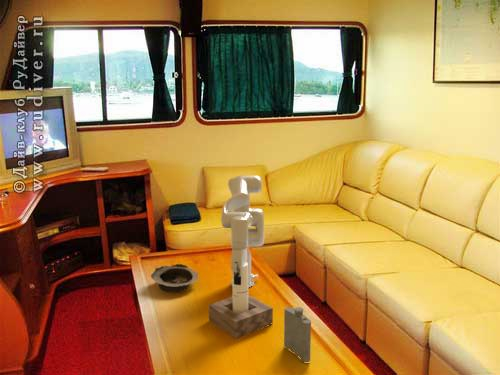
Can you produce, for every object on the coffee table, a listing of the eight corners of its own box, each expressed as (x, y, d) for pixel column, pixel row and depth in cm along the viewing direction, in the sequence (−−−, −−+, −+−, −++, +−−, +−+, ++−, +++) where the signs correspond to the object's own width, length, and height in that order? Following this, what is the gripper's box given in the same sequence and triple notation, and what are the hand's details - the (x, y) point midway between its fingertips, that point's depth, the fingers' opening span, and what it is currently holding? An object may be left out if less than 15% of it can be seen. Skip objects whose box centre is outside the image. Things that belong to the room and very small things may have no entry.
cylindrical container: (246, 319, 226) (246, 267, 221) (231, 318, 228) (230, 266, 222) (249, 312, 233) (249, 261, 228) (234, 310, 234) (234, 260, 229)
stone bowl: (156, 277, 283) (157, 262, 281) (200, 281, 283) (201, 265, 281) (146, 295, 259) (147, 278, 257) (194, 299, 259) (195, 282, 257)
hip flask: (282, 346, 210) (283, 302, 206) (290, 343, 212) (291, 300, 208) (305, 364, 197) (306, 318, 193) (313, 361, 199) (314, 315, 195)
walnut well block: (244, 308, 246) (244, 292, 244) (272, 324, 229) (272, 308, 228) (209, 320, 233) (208, 304, 231) (235, 338, 217) (235, 321, 215)
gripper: (237, 237, 232) (238, 273, 236) (225, 249, 216) (225, 287, 220) (253, 238, 230) (253, 275, 234) (241, 251, 214) (242, 289, 218)
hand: (240, 280), depth 227 cm, fingers closed on cylindrical container, 7 cm apart
